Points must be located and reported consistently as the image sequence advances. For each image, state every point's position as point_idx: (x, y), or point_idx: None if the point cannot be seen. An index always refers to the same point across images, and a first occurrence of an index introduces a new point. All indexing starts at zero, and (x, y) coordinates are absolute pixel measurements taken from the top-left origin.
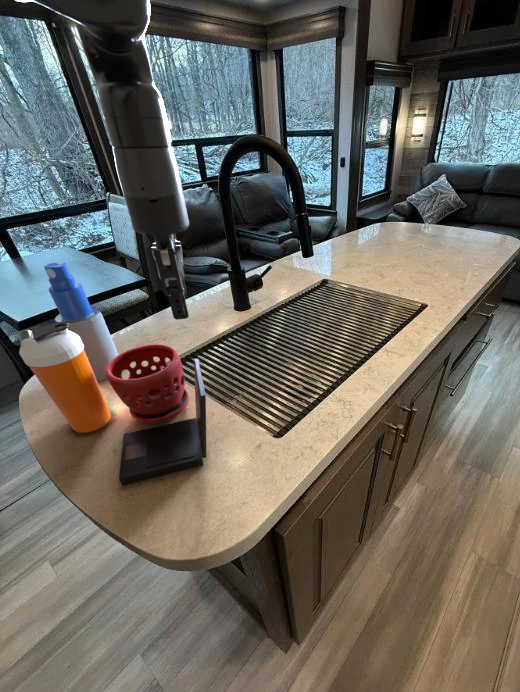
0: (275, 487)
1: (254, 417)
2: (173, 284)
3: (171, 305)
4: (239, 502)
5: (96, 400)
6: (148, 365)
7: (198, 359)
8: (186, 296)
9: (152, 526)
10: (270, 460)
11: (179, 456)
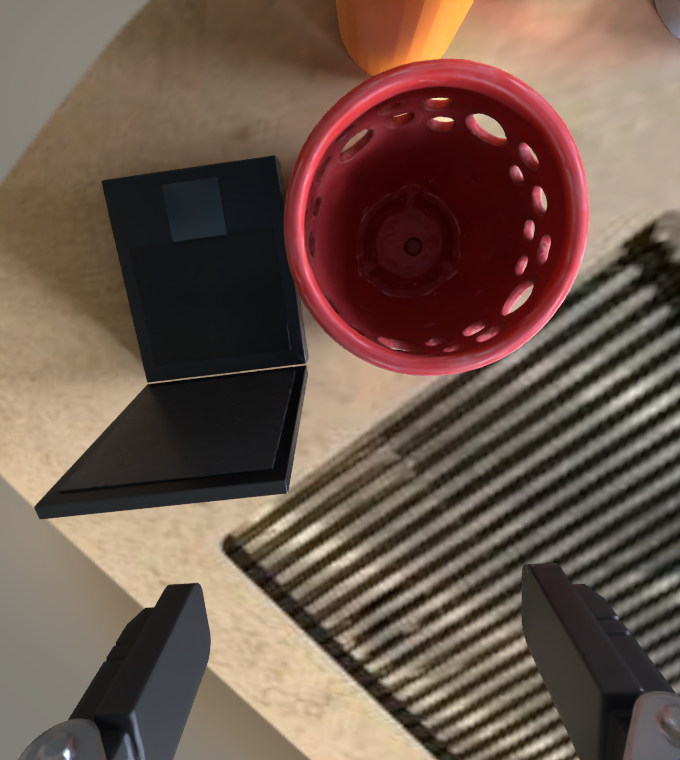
0: (80, 519)
1: (307, 502)
2: (567, 655)
3: (132, 654)
4: (49, 448)
5: (374, 35)
6: (536, 213)
7: (282, 493)
8: (526, 635)
9: (3, 275)
10: (154, 519)
11: (157, 329)
